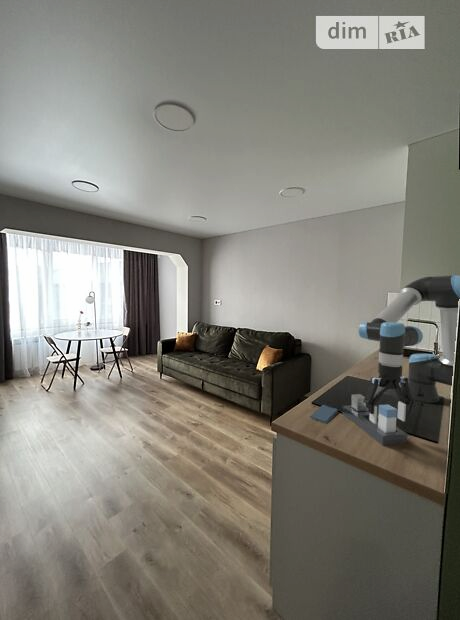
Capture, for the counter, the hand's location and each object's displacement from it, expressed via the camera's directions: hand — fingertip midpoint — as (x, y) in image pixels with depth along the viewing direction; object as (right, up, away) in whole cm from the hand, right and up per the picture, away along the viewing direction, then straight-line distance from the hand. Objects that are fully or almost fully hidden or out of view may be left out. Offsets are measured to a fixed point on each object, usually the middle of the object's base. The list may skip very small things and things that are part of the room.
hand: (387, 420), depth 94 cm
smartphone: (-17, -6, +18) cm, 25 cm away
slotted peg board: (-1, -6, +8) cm, 10 cm away
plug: (0, -7, 0) cm, 7 cm away
